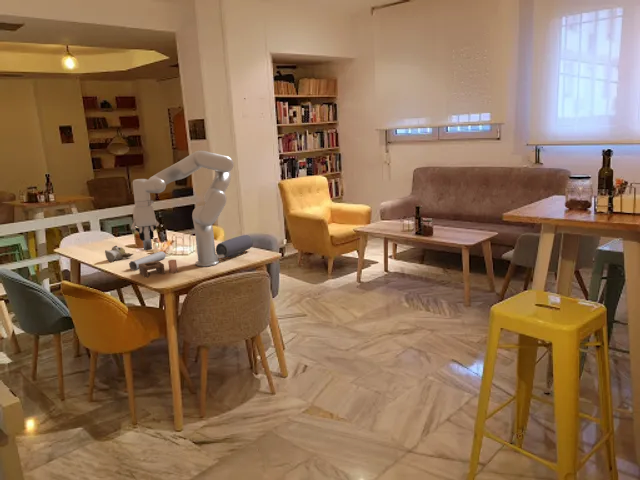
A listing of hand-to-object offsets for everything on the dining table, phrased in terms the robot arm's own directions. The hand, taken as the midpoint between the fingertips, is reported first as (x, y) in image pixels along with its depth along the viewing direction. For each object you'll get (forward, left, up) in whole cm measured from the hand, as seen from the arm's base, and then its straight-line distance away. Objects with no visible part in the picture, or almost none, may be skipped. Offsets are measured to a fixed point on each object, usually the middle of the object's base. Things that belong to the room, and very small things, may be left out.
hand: (146, 239), depth 258 cm
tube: (-5, -21, -19) cm, 29 cm away
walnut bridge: (0, 0, -18) cm, 18 cm away
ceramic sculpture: (+6, -45, -19) cm, 49 cm away
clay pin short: (-10, +5, -18) cm, 21 cm away
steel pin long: (0, 0, -5) cm, 5 cm away
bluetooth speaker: (-49, -2, -18) cm, 52 cm away
